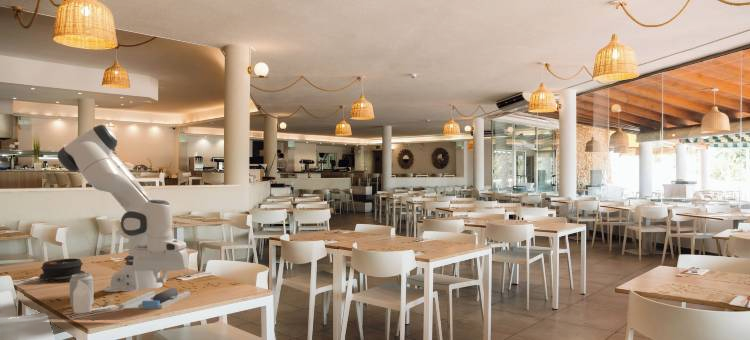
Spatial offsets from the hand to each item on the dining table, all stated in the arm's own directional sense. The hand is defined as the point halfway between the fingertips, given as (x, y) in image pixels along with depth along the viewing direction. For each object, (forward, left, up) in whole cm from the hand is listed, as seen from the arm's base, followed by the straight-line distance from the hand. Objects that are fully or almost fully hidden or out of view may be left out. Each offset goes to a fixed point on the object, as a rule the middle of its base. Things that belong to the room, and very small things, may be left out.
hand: (161, 282), depth 187 cm
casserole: (-76, +46, -9) cm, 90 cm away
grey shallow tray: (-3, +2, -8) cm, 9 cm away
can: (-29, -3, -8) cm, 31 cm away
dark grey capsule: (-1, +1, -7) cm, 7 cm away
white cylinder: (-22, -12, -8) cm, 27 cm away
